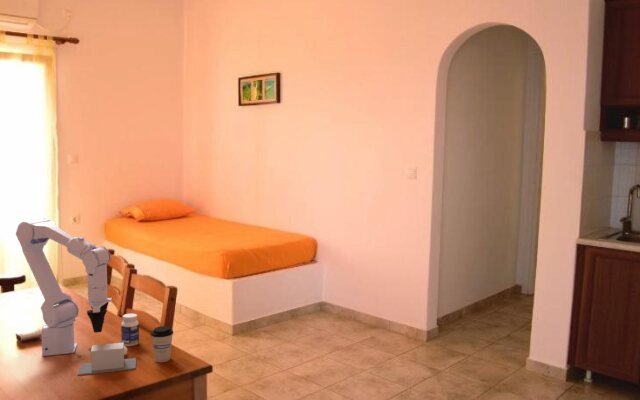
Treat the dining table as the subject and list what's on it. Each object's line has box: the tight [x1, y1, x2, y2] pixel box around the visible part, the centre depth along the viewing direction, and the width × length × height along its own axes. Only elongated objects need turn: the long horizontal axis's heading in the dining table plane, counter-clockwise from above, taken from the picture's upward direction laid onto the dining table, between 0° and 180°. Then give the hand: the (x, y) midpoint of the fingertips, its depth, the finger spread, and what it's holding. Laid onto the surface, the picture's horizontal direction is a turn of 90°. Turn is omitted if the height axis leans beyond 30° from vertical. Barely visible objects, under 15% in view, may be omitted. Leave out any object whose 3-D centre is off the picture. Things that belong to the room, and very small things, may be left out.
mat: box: [77, 357, 137, 377], centre depth 163 cm, size 16×8×1 cm, turn 108°
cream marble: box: [124, 346, 128, 356], centre depth 172 cm, size 3×3×3 cm
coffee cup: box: [150, 325, 174, 363], centre depth 169 cm, size 7×7×10 cm
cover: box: [90, 342, 125, 371], centre depth 163 cm, size 9×5×6 cm, turn 108°
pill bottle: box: [120, 313, 140, 347], centre depth 182 cm, size 6×6×10 cm
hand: (98, 327), depth 170 cm, fingers open, 7 cm apart
